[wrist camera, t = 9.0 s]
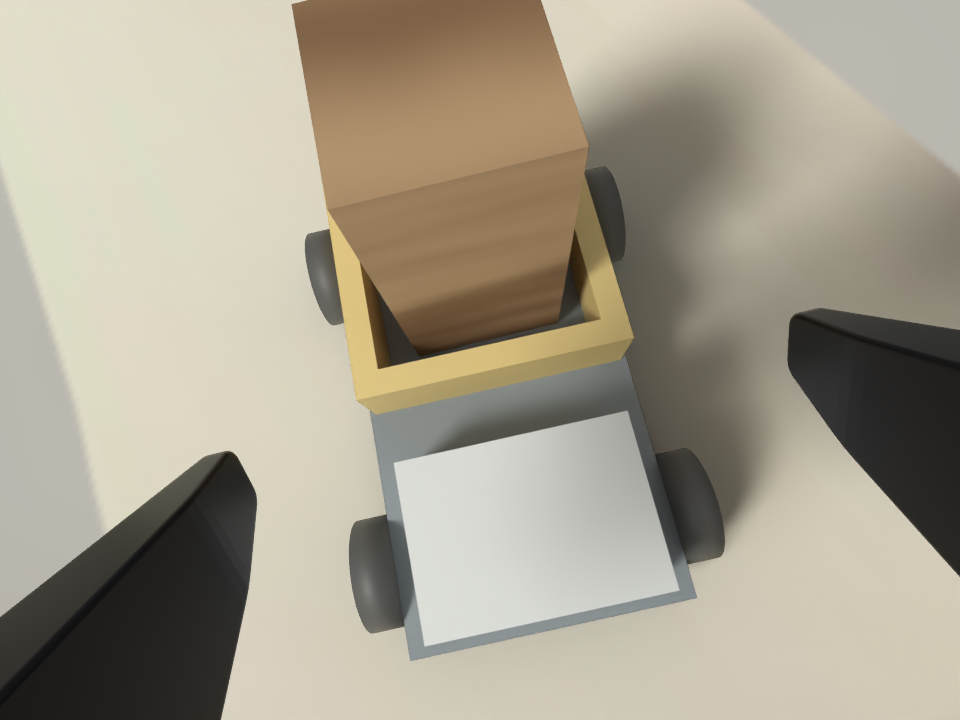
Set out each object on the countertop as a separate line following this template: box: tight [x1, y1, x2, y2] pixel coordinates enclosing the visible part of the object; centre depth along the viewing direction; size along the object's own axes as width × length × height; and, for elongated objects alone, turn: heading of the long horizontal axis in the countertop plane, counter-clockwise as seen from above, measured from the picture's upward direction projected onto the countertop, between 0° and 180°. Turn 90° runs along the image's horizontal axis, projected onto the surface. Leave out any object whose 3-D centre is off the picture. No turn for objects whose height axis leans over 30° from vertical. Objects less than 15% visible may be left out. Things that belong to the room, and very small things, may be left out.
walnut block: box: [292, 0, 589, 356], centre depth 16 cm, size 5×5×10 cm
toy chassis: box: [305, 167, 725, 661], centre depth 20 cm, size 16×11×5 cm
